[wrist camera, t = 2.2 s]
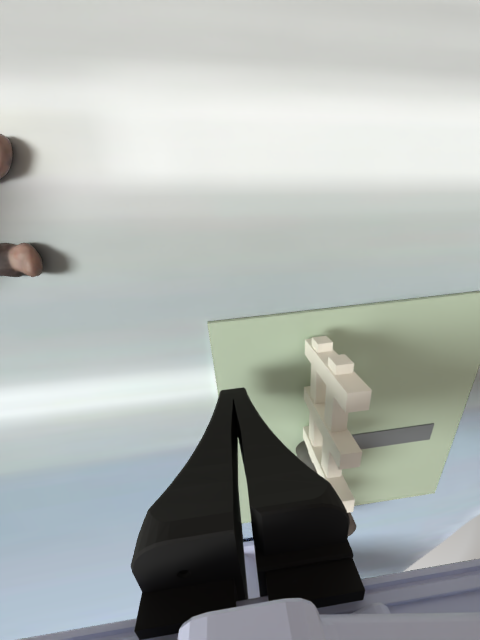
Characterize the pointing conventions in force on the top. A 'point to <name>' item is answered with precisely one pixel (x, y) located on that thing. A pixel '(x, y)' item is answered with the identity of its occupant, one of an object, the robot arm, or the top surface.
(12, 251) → the stuffed animal
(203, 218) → the top surface
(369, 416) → the card
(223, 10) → the top surface
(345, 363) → the folding fence panel
